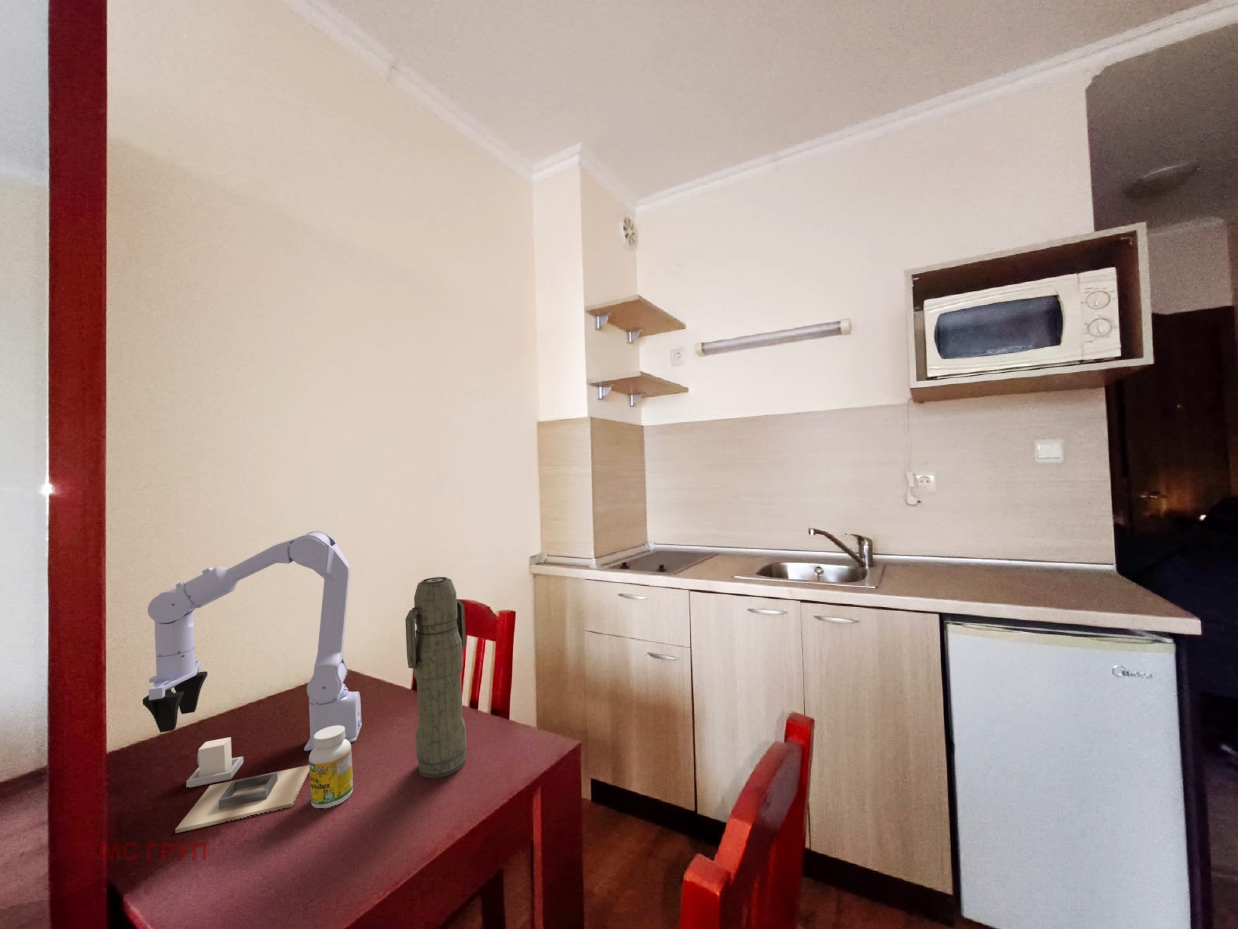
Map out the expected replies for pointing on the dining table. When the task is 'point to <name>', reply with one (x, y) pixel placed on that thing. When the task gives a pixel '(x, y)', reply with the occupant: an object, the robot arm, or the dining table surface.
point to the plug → (214, 757)
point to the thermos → (438, 675)
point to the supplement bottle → (330, 768)
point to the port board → (245, 798)
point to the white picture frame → (214, 775)
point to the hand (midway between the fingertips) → (178, 721)
